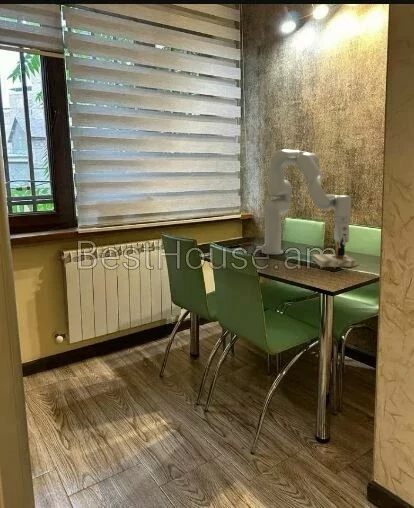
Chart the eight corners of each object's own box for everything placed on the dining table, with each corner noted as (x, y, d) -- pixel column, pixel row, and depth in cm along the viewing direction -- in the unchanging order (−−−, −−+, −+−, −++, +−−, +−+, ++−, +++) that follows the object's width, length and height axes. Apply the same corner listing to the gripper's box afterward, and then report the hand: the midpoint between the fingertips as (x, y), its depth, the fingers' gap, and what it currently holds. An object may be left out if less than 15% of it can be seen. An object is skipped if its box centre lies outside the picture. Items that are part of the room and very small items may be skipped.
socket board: (320, 266, 206) (321, 261, 206) (312, 259, 222) (312, 254, 221) (356, 266, 206) (356, 260, 206) (345, 259, 222) (345, 254, 222)
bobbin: (335, 260, 211) (337, 241, 209) (332, 258, 216) (333, 239, 214) (345, 260, 211) (347, 241, 209) (342, 258, 216) (343, 239, 214)
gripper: (355, 221, 201) (352, 258, 205) (343, 217, 218) (341, 251, 222) (339, 221, 201) (337, 258, 205) (329, 217, 218) (327, 251, 221)
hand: (339, 254), depth 213 cm, fingers closed on bobbin, 3 cm apart
